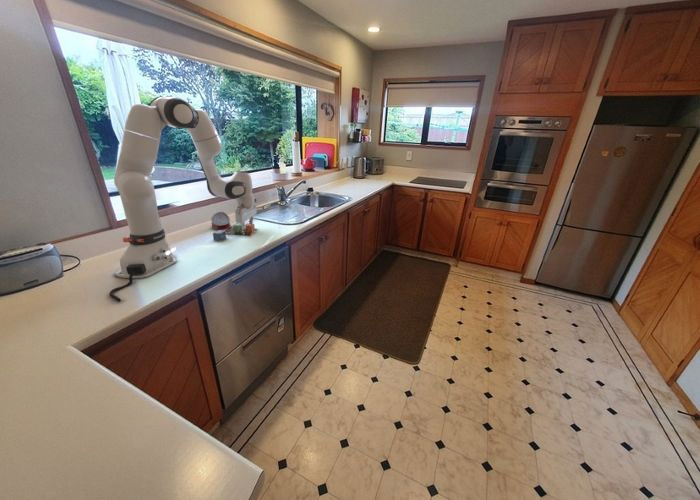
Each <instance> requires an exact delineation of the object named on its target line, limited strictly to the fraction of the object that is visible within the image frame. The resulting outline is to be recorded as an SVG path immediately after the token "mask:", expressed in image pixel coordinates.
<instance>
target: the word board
mask: <svg viewBox="0 0 700 500" xmlns="http://www.w3.org/2000/svg"><path fill="white" fill-rule="evenodd" d="M224 231H225V234H226V236H237V237H251V236H252V235H253V234H254V233H255V232H257V231H258V228H255V232H253V233H252V234H247V233H244V231H243V232H242V233H234V231H233V226H232V227H231V226H230V227H229V228H226V229H224Z"/></svg>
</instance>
